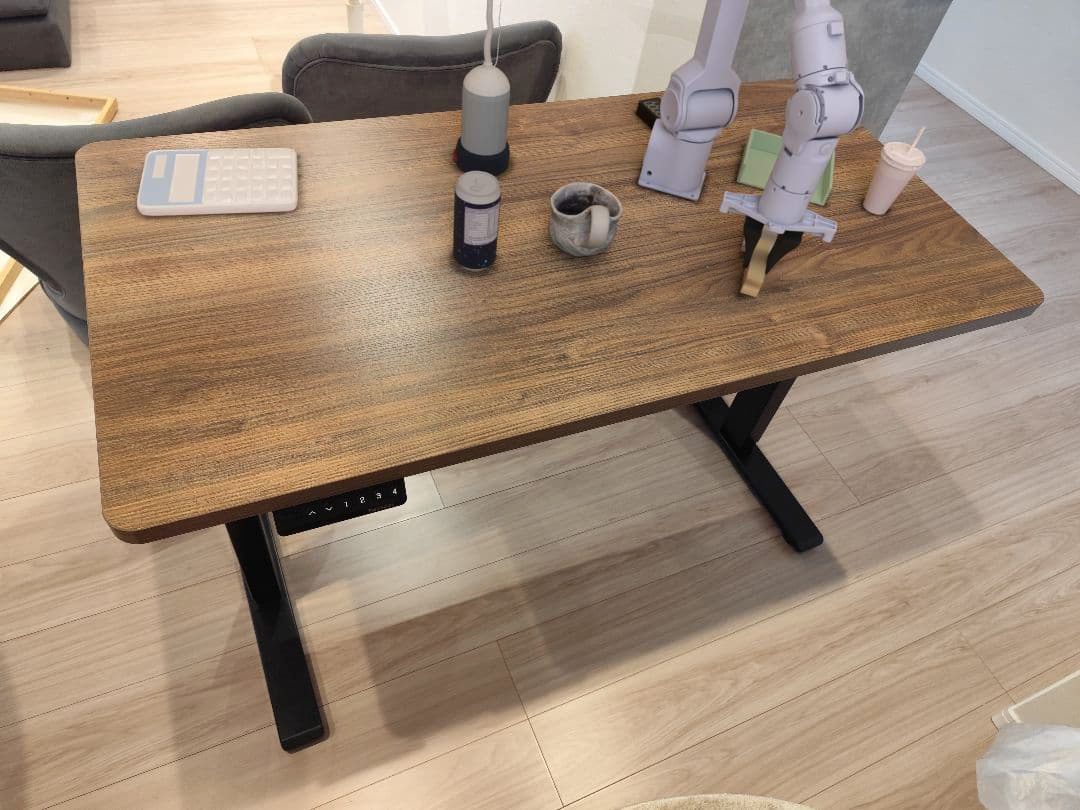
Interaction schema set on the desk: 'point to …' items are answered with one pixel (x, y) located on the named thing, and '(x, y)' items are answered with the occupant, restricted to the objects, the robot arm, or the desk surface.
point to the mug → (583, 218)
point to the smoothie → (893, 174)
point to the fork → (757, 263)
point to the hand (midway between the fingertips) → (755, 266)
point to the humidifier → (484, 114)
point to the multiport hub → (649, 110)
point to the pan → (761, 163)
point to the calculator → (218, 181)
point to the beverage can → (476, 220)
